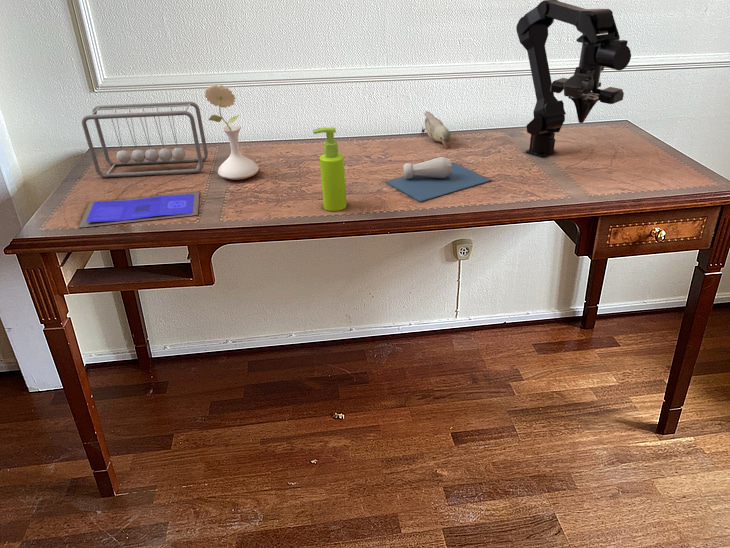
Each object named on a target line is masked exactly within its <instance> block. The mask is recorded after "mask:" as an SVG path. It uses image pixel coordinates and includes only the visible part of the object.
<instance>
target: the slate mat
mask: <svg viewBox="0 0 730 548" xmlns="http://www.w3.org/2000/svg"><path fill="white" fill-rule="evenodd" d="M451 168H452V173H451V175H449V176H447V177H445V178H429V177H414V176H413V178H412V179H406V178H405V177H404V176H401V177H398V178H393V179H390V180H386V181H385V183H386V184H387V185H389V186H391V187H393V188H395V189H397V190H398V191H400V192H401V193H403V194H405V195H407V196H409V197H410V198H411V199H414V200H416V201H417V202H419V203H422V202H425V201H428V200H432V199H435V198H439V197H442V196H445V195H448V194H452V193H457V192H459V191H463V190H465V189H468V188H473V187H476V186H479V185H482V184H486V183H488V182H492V180H491V179H490V178H487V177H485V176H483V175H481V174H479V173H477V172H475V171H473V170H470V169H469V168H467V167H464V166H462V165H460V164H457V163H455V162H453V163H452V162H451Z"/></svg>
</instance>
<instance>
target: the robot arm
mask: <svg viewBox="0 0 730 548" xmlns="http://www.w3.org/2000/svg"><path fill="white" fill-rule="evenodd" d="M554 21H560V22H563V23H565V24H568V25H572V26H574V27H575V28H576V30H577V31H578V32H579V33H581V35H580V36H579V37H578V38H576V39H575V41H576V43H581V49H580V55H579V62H578V66H575V69H574V73H573V75H571V76H570V77H569V78H566V77H562V78H558V79H556V80H555V79H554V80H553V81H552V77H551V73H550V67H549V61H548V56H547V50H546V44H547V41H548V37H549V28H550V27H551V26H552V25H553V24H554ZM515 28H516V29H515V31H516V34H517V37H518V40H519V41H518V42H519V43H520V44H521V46H522V47H523V48H524V50H526V52H527V57H528V62H529V68H530V74H531V78H532V82H533V83H532V84H533V89H534V94H535V98H536V102H535V106H534V109H533V112H532V113H533V118H532V119H531V120H530V121H529V122H528V123H527V124H526V133H527V134H529V135H530V141H529V146H528V147H529V148H528V149H527V150H525V153H527V154H530V155H534V156H538V157H541V158H545V157H547V156H550V155H552V154H554V153H556V149H555V144H556V138H555V137H556V133H560V131H561V128H562V127H563V125H564V123H565V121H566V114H567V113H566V111H565V105H564V104H565V103H564V101H563V100H559V99H557V98H556V96H555V94H561V93H562V92H563V96H564V97H567V98H568V99H569V100H571V101H572V102H573V104H574V106H575V110H576V115H577V121H578V124H583V123H584V122H585V120H586V119H587V118H588V116H589V114H590V112H591V111H592V109H593V108H594V107H595V105H596V104H597V103H598V102H600V103H602V104H607V105H614V104H616V103H619V102H621V101H623V100H624V96H625V94H624V90H623V88H619V87H615V86H614V87H613V86H609V87H606V88H604V89H602V88H601V87H602V82H600V80H601V72H604V70H605V68H607V69H611V70H615V71H619V72H620V71H624V69H625V68H627V67H628V65H629V63H630V61H631V58H632V53H631V48H630V47H629V46H628V43H629V41H628V40H626V39H621V38H620V33H619V30H618V27H617V24H616V20H615V18H614V13H613V11H612V9H610V8H584V7H580V6H577V5H574V4H571V3H567V2H562V1H560V0H541V2H539V3H538V5H536V7H534V8H532V9H531V10H529V11H528V12H526V13H525V14H524V15H523V16H521V17H520V18H519V20H518V22H517V24H516V27H515ZM554 93H555V94H554Z"/></svg>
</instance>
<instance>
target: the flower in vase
mask: <svg viewBox="0 0 730 548" xmlns="http://www.w3.org/2000/svg"><path fill="white" fill-rule="evenodd" d="M204 91H205V92H204V95H203V96H204V98H206V99H207V101H208V102H209V103H210V105H213V106H214V107H218V113H219V115H217V114H212V115H210V116H209V118H208V121H212V122H216V123H220V122H221V121H223V122H224V123H225V125H226V126H223V127H222V131H223V132H224V133H225V134H226V136H227V138H228V142H229V146H230V154H229V157H227V158H226V159H225V160H224V161H223V162H222V164H220V166H219V167H218V170H217V174H218V175H219V176H220V177H221V178H223V179H226V180H232V181H234V180H235V181H237V180H239V181H240V180H245V179H248V178H251V177H253V176H255V175H256V174H258V172H259V170H260V168H259V165H258V164H257V163H256V162H255V161H254V160H252V159H250V158H248V157H246V156H245V155H243V154H242V153H241V151H240V144H239V133H240V131H241V129H242V127H241V125H238V124H232V123H234V122H235V121H236V120H237V119H238V118H239V115H240V114H237V115H234V116H232V117H231V118H229V120H228V121H226V120H225V118H224V117H223V116H222V111H221V108H230V107H232V106H234V105H235V102H236V97H235V94H234V93H233V91H232V90H231V89H229V88H228V87H224V86H223V85H222V84H219V85H218V84H211V85H210V86H209V87H206V89H204ZM230 124H231V125H230Z"/></svg>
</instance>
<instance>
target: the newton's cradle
mask: <svg viewBox="0 0 730 548" xmlns="http://www.w3.org/2000/svg"><path fill="white" fill-rule="evenodd" d="M176 107H177V108H178V107H181V108H182V107H186V108H185V109H183V110H172V108H176ZM190 107H193V108H194V109H195V114H196V119H197V125H198V130H199V134H200V140H201V145H202V151H203V155H202V152H201V146H200V142H199V136H198V132H197V126H196V121H195V117H194V116H193V114H192V113H191V112H190V111H187V110H189V108H190ZM158 108H168V110H164V111H163V110H161V111H159V110H158ZM134 109H135V110H136V109H141V110H143V111H139V112H137V111H136V112H131V110H134ZM145 109H154V111H145ZM111 110H113V111H115V113H98V111H111ZM117 110H126V111H125V112H120V113H119V112H117ZM128 111H129V112H128ZM175 116H187V117H188V119H189V121H190V127H191V131H192V132H191V133H192V137H193V141H194V148H195V152H196V157H186V151H185V150H184V149H183V148H182V147H179V146H178V140H177V133H176V128H175V127H176V126H175V122H174V117H175ZM151 117H153V118H154V121H155V125H156V128H157V133H158V135H159V138H160V142H161V146H162V148H161V149H159V151H157V150H156V149H154V148H151V146H150V145H151V142H150V136H149V135H147V134H149V131H148V126H147V124H145V126H144V124H143V121H142V118H144V122H145V123H147V119H146V118H151ZM156 117H158V118H160V117H168V121H169V125H170V128H171V132H172V136H173V139H174V143H175V147H174V148H173V149H172V150H170V148H168V147H165V143H164V142H163V141H164V137H163V131H162V125H159V127H158V123H157V119H156ZM170 117H171V118H172V123H171V119H170ZM128 118H129V119H130V121H131V126H132V131H133V134H132V131H131V128H130V124H129V122H128ZM133 118H139V119H140V122H141V126H142V128H143V129H142V130H143V132H144V135H145V139H146V142H147V145H148V147H149V148H148V149H147V150H146V151H145V152H144V151H143V150H142V149H138V146H137V139H134V138H136V135H135V129H134V124H133ZM109 119H111V122H112V125H113V128H114V132H115V136H116V138H117V142H118V144H119V148H120V150H119V151H117V153H116V160H117V162H121V163H114V162H115V161H112V160H111V159H110V156H109V153H108V148H107V145H106V141H105V138H104V135H103V131H102V127H101V124H100V121H99V120H109ZM113 119H116V123H117V129H118V134H117V130H116V127H115V124H114V120H113ZM118 119H125V121H126V124H127V126H128V130H129V132H130V136H131V138H132V141H133V145H134V147H135V149H134V150H133V151H132V152H131V154H130V152H129V151H127V150H125V149H123V144H122V143H121V142H122V138H121V132H120V127H119V121H118ZM90 120H93V121H94V124H95V128H96V131H97V135H98V138H99V142H100V145H101V149H102V153H103V156H104V159H105V161H106V163H107V164H108V165H110V166H111V167H110V168H109V170H108V171H107V172H106V173H104V172H102V171H101V169H100V166H99V162H98V158H97V155H96V152H95V148H94V144H93V141H92V139H91V135H90V131H89V128H88V124H87V121H90ZM158 122H159V124H161V120H160V119H158ZM172 124H173V126H172ZM203 125H204V124H203V120H202V115H201V110H200V106H199V105H198V104H197V103H196V102H194V101H170V102H169V101H168V102H151V103H150V102H149V103H148V102H147V103H128V104H105V105H103V104H102V105H96V106H94V107H93V109H92V112H91V114H88V115H85V116H83V118H82V119H81V127H82V129H83V133H84V136H85V140H86V142H87V146H88V149H89V153H90V156H91V159H92V162H93V166H94V170H95V172H96V174H97V175H98V176H100V178H105V179H106V178H127V177H141V176H142V177H144V176H145V177H147V176H165V175H181V174H183V175H184V174H198V173H200V172H202V170H203V169H204V163H203V162H205V161H206V160H207V159H208V156H209V153H208V147H207V142H206V135H205V131H204V126H203ZM145 127H146V130H145ZM159 128H160V130H159ZM173 129H174V131H173ZM146 132H147V134H146ZM160 133H161V134H160ZM118 135H119V137H118ZM131 159H132V161H135V162H129V161H131ZM145 159H146V160H145ZM176 163H180V164H181V163H197V166H196V168H188V169H187V168H185V169H168V170H149V171H128V172H127V171H126V172H111V171H112V170H113V169H114V167H117V166H118V167H119V166H120V167H122V166H140V165H159V164H161V165H162V164H176ZM110 172H111V173H110Z"/></svg>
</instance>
